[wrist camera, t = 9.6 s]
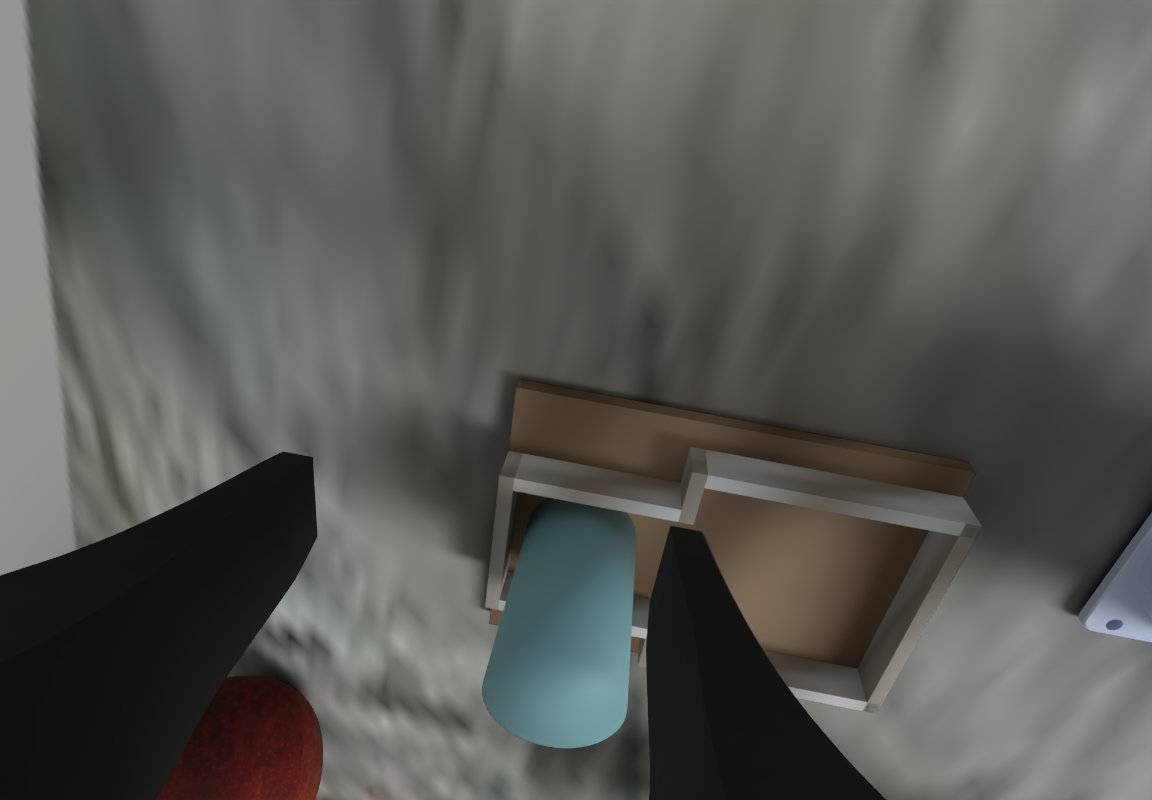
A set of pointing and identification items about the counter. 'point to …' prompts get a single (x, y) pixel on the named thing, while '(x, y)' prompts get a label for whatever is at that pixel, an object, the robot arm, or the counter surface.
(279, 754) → the apple
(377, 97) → the counter surface
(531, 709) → the peg
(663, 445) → the brown tray
